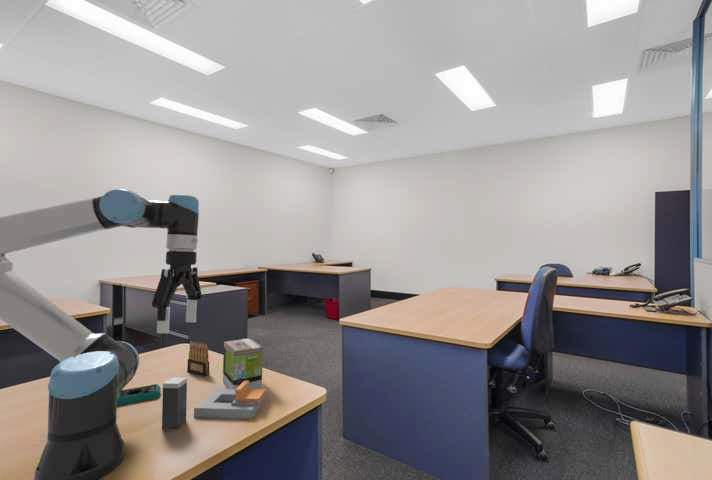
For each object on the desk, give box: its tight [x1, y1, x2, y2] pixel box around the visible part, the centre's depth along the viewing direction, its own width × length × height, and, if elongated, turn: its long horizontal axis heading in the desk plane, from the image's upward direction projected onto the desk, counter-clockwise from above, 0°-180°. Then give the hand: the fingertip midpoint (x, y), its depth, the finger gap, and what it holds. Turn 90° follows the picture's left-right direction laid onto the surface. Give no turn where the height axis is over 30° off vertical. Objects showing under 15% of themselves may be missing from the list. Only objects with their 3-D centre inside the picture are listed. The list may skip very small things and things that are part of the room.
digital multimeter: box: [117, 383, 161, 407], centre depth 105 cm, size 7×15×3 cm, turn 121°
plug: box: [161, 376, 188, 430], centre depth 89 cm, size 4×4×12 cm
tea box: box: [222, 337, 264, 389], centre depth 115 cm, size 15×10×15 cm, turn 35°
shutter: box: [235, 380, 267, 404], centre depth 99 cm, size 7×7×4 cm
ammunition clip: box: [186, 340, 210, 377], centre depth 127 cm, size 11×2×12 cm, turn 63°
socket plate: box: [193, 388, 268, 420], centre depth 99 cm, size 13×17×3 cm
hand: (177, 327), depth 90 cm, fingers open, 13 cm apart
